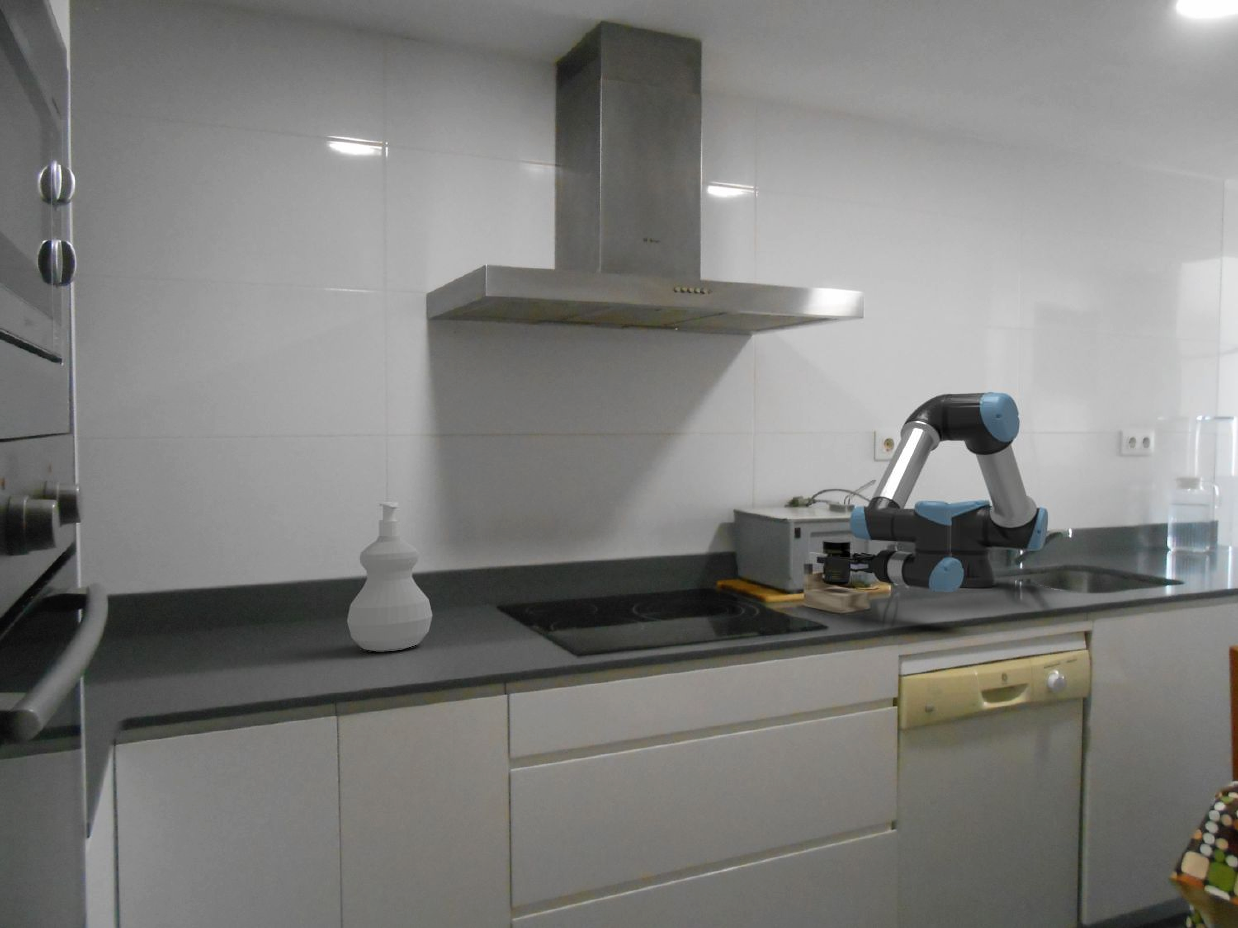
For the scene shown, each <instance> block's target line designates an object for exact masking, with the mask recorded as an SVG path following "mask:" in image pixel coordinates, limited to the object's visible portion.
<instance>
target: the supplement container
mask: <svg viewBox="0 0 1238 928" xmlns="http://www.w3.org/2000/svg"><path fill="white" fill-rule="evenodd" d="M851 542H852V541H851V540H849V539H840V538H838V539H837V538H834V539H833V538H830V539H827V538H826V539H823V540H822V543H821V544H822V546H821V547H822V554H827V553H831V556H836V557H849V558H850V552H851ZM822 571H823V577H822V579H823V582H824V583H825V584H829V585H836V586H846V585H849V584H850V582H851V571H846V570H839V569H831V568H824V565H822Z"/></svg>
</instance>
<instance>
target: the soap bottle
mask: <svg viewBox="0 0 1238 928" xmlns="http://www.w3.org/2000/svg"><path fill="white" fill-rule="evenodd" d="M378 506H379V507H382V519H379V520H378V536H377V538H376V540H375V541H373V542H372V543H371V544H369V545H368V546H367V547H365V549H364V550H362V551H361V552H360V553H359V554H360V555H359V562H360V564H361V566H362V567H363V568H364V570H365V571H366V581H365V583H364V585H363V587H362V588H361V590H360V591H359V593H357V595H356V597H355V598H354V599H353V600H352V602H351V603H350V604H349V605H350V606H349V611H348V614H347V619H346V622H347V625H348V629H349V634H350V636H351V639H352V640H353V641H354V642H355V643H356V644H357V645H358V646H359V647H360V648H361V649H362V648H363V649H367V650H388V649H398V648H407V647H411V646H414V645H417V644H418V645H419V644H420V642H422V640H423V639H424V638H425V637H426V635H427V634H428V633H429V631H430V627H431V623H432V619H433V612H432V609H431V607H432V606H431V604H430V599H429V597H428V596H426V594H425V593H424V592H423V590H422V589H420V587H419V586H418V585H417V583H416V582H415V580H414V578H413V569H414V568H415V566H416V565H417V563H418V561H419V558H420V557H419V556H420V555H419V551H418V549H416V548H415V547H414V546H413V545H411V544H410V543H408V542H406V541H405V540H403V538H402V537H401V535H400V520H399V519H396V517H395V516H396V515H395V513H396V512H395V511H396V510H395V509H397V508H398V506H399V503H398V502H396V501H385V502H383V501H381V502H379V504H378ZM418 645H417V646H418ZM414 647H415V646H414ZM411 648H412V647H411Z"/></svg>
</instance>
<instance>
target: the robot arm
mask: <svg viewBox="0 0 1238 928" xmlns="http://www.w3.org/2000/svg"><path fill="white" fill-rule="evenodd" d="M1019 414H1020V413H1019V409H1018V406H1017V403H1016V401H1015V400H1014V398H1013V397H1012V396H1011V395H1010V394H1008V393H1004V392H993V391H989V392H975V393H974V392H973V393H972V392H971V393H944V394H941V395H940V394H939V395H936V396H934V397H931V398H930V399H928V400H926V401H925V402H923V403H922V404H920V406H918V407H917V408H916V409H915V410H914V411H913V412H912V413H911V414H909V416H908V418H907V419H906V420H905V421H904V423H903V425H902V428H901V429H900V432H899V433H900V441H899V443H898V445H897V447H896V449H895V450H894V453H893V455H892V457H891V458H890V461H889V462H888V464H887V467H886V469H885V471H884V473H883V475H882V476H881V479H880V481H879V483H878V485H877V487H876V488H875V491H874V493H873V495H872V497H871V499H870V501H869V503H868V505H867V506H866V505H863V506H856V507H854V508H853V510H851V513H850V517H849V529H850V531H851V534H852V535H853V537H854V538H856V539H861V540H867V541H877V542H878V541H879V542H880V541H881V542H897V543H906V544H907V543H908V544H913V545H914V552H910V551H909V552H908V551H901V550H893V549H882V550H879V551H880V552H879V553H878V554H877V555H876V554H870V553H864V552H862V553H861V554H860V553H857V552H855V553H854V554H852V552H851V551H850V558H849V557H836V556H831V553H827V554H823V553H820V552H813V551H809V553H808V554H809V555H808V557H809V558H808V560H809V561H808V563H810V564H813V565H817V566H823V565H824V568H831V569H839V570H846V571H850V572H851V573H852V572H855V573H857V572H858V571H860V572H865V573H870V574H872V573H874V575H875V577H876V578H877V579H878V580H879V582H880V583H885V584H886V583H887V584H893V585H895V584H896V585H900V586H904V588H905V589H910V587H912V588H918V589H923V590H929V591H932V592H943V593H953V592H955V591H957V590H958V589H959V588H975V589H976V588H977V589H978V588H990V587H995V586H996V584H997V583H996V582H997V578H996V575H995V571H994V567H993V565H992V562H991V558H990V549H1001V550H1013V551H1021V552H1023V551H1024V552H1028V551H1031V552H1032V551H1033V552H1034V551H1035V552H1037V551H1040V550H1041V549H1042V548H1043V547H1044V545H1045V544H1046V543H1045V542H1046V538H1047V533H1048V524H1049V512H1048V509H1046V508H1045V507H1041V506H1040V507H1037V504H1036V502H1035V500H1034V499H1033V498H1032V497H1031V496H1028V495H1027V492H1026V489H1025V486H1024V483H1023V479H1022V477H1021V475H1022V474H1021V473H1020V469H1019V466H1018V462H1017V459H1016V457H1015V453H1014V449H1013V447H1012V444H1013V442H1014V440H1015V439H1016V438H1017V436H1018V435H1019V432H1020V426H1021V425H1020V422H1021V421H1020V418H1019ZM946 441H947V442H948V441H951V442H952V441H953V442H955V441H956V442H958V441H959V442H964V444H965V445H964V446H965V447H966V449H967V451H969V452H970V453H971V454H974V455H975V457H976V459H977V463H978V466H979V468H980V471H981V475H982V477H983V480H984V483H985V486H986V489H987V492H988V495H989V498H990V500H991V502H990V500H989V499H981V500H980V499H979V500H970V501H960V502H952V503H949V502H947V501H941V500H919V501H916V502H915V504H914V508H905V507H906V506H907V505H906V504H907V502H908V500H909V498H910V496H911V494H912V492H913V490H914V487H915V486H916V483H917V481H918V479H919V477H920V475H921V473H922V471H923V469H924V467H925V464H926V462H927V460H928V458H929V456H930V454H931V452H932V451H935V450H936V449H937V448H938V447H939V445H940V443H941V442H946ZM991 503H992V504H991Z"/></svg>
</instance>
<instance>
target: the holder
mask: <svg viewBox="0 0 1238 928" xmlns="http://www.w3.org/2000/svg"><path fill="white" fill-rule="evenodd" d="M813 566H814V564H811V563H809V562H807V563H803V606H804V607H808V608H813V609H818V610H823V611H827V612H833V613H837V614H845V613H847V614H848V613H853V612H857V611H864V610H869V609H870V593H871V592H869V591H866V590H865V591H864V590H861V589H855V588H848V587H843V586H839V585H829V584H825V583H824V582H823V579H822V577H823V570H819V571H813V568H814V567H813Z"/></svg>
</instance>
